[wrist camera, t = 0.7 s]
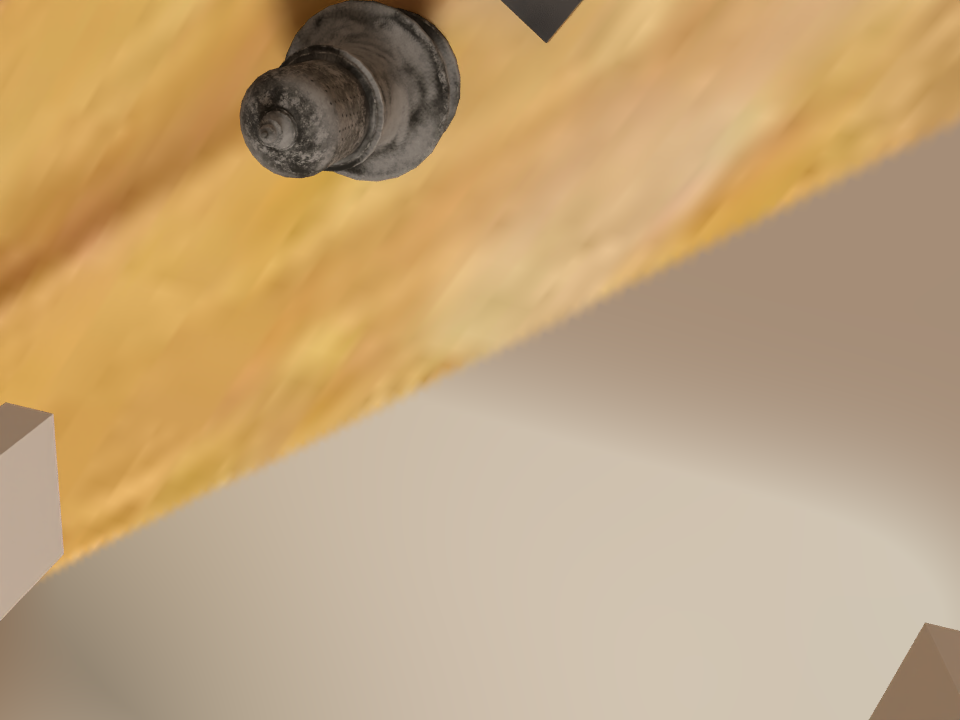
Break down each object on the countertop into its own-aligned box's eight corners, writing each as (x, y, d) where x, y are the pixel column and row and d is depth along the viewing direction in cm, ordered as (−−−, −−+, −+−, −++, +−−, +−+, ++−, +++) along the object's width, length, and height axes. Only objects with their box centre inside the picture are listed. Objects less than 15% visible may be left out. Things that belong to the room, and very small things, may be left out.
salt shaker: (459, -10, 29) (358, -9, 18) (476, 156, 31) (395, 246, 20) (304, 7, 30) (123, 17, 19) (331, 167, 32) (183, 256, 22)
